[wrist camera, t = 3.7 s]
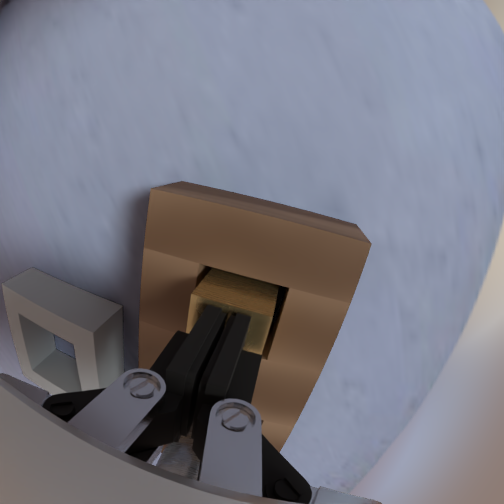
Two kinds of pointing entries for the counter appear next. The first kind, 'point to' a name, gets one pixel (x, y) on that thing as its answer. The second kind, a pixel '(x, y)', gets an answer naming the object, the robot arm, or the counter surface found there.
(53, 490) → the robot arm
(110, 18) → the counter surface
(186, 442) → the grey metal rounded cylinder
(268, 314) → the tan square peg
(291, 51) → the counter surface
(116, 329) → the holder
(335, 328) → the socket block
